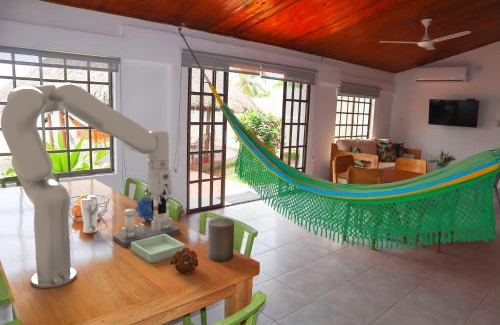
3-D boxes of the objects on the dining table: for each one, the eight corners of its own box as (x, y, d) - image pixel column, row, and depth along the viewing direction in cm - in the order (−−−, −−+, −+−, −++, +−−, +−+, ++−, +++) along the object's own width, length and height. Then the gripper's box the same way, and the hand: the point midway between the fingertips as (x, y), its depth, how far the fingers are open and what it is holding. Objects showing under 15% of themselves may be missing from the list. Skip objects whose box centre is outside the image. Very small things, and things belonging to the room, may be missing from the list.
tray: (185, 253, 140) (185, 244, 139) (150, 263, 129) (150, 254, 129) (164, 241, 150) (164, 233, 149) (131, 250, 140) (130, 242, 139)
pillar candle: (238, 255, 140) (239, 217, 137) (223, 264, 131) (224, 224, 129) (217, 249, 145) (218, 213, 142) (202, 258, 136) (202, 219, 134)
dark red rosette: (191, 283, 120) (176, 274, 130) (209, 263, 124) (193, 256, 134) (176, 266, 117) (161, 258, 127) (194, 246, 121) (179, 240, 130)
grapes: (139, 225, 168) (139, 200, 166) (133, 221, 173) (133, 196, 171) (162, 220, 176) (162, 196, 174) (156, 217, 181) (156, 193, 179)
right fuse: (170, 228, 160) (170, 204, 158) (162, 230, 157) (162, 205, 156) (165, 225, 163) (166, 202, 161) (157, 227, 160) (157, 203, 158)
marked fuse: (166, 221, 138) (166, 193, 136) (157, 223, 135) (156, 194, 133) (160, 218, 141) (160, 191, 139) (151, 220, 138) (151, 192, 136)
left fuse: (136, 236, 149) (136, 210, 147) (127, 238, 146) (127, 212, 145) (132, 233, 152) (132, 208, 150) (123, 235, 149) (122, 209, 147)
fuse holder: (180, 233, 161) (180, 220, 160) (124, 247, 142) (123, 232, 141) (168, 226, 168) (168, 214, 167) (113, 240, 149) (112, 226, 148)
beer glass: (92, 234, 155) (91, 200, 152) (78, 232, 156) (76, 198, 153) (102, 229, 161) (101, 196, 159) (88, 227, 163) (87, 194, 160)
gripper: (179, 166, 131) (179, 215, 134) (155, 160, 143) (156, 205, 146) (161, 168, 126) (161, 219, 129) (138, 161, 137) (138, 208, 140)
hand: (158, 211), depth 137 cm, fingers closed on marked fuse, 3 cm apart
